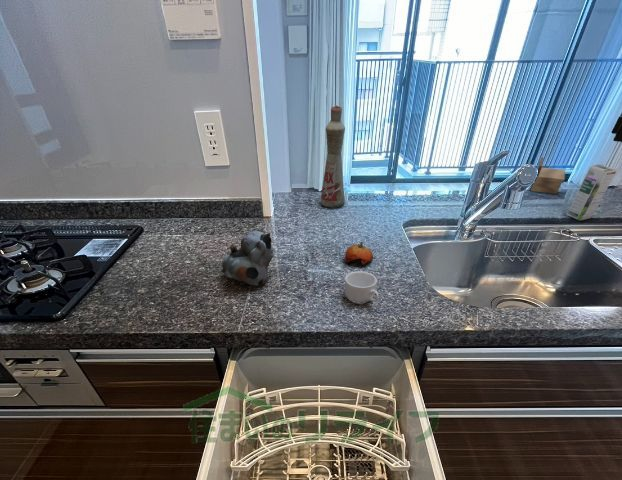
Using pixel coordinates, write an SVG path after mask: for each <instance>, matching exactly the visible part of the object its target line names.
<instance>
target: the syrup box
mask: <svg viewBox="0 0 622 480" xmlns="http://www.w3.org/2000/svg"><path fill="white" fill-rule="evenodd" d="M617 172H618V168H613V167H610V166H609V165H608V166H607V165H604V164H593V165H591V166H589V168H588V170H587V172H586V174H585V177H584V178H583V180H582V182H581V185H580V187H579V188H578V190H577V193H576V195H574V199H573V200H572V203H571V205H570V207H569V208H568V210H567V212H566V215H565V216H567V217H570V218H573V219H574V220H577V221H579V222H581V221H586V220H589V219H591V218H593V216H594V214H595V212H596V210H597V208H598V207H599V204H600V203H601V201H602V200H603V198H604V196H605V193H606V192H607V191H608V189H609V186H610V184H611V183H612V182H613V179H614V177H615V176H616V173H617Z"/></svg>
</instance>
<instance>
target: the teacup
mask: <svg viewBox="0 0 622 480" xmlns="http://www.w3.org/2000/svg"><path fill="white" fill-rule="evenodd" d="M377 284H378V278H377V277H376V276H375V275H374V274H372V273H370V272H368V271H362V270H361V271H360V270H357V271H352V272H351V271H350V272H349V273H347V274H346V275H345V277H344V294H345V296H346V298H347V299H348V301H350V302H351V303H353V304H356V305H363V304H366V303H369V302H376V301H378V300H379V297H380V295H379V292H378V291H377V290H376V289H377ZM374 295H376V297H375V298H374ZM353 301H354V302H353ZM366 301H367V302H366ZM357 302H364V303H357Z"/></svg>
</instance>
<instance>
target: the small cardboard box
mask: <svg viewBox="0 0 622 480" xmlns="http://www.w3.org/2000/svg"><path fill="white" fill-rule="evenodd" d="M544 160H545V157H540V159H539V162H538V164H537V167H536V169H538V176H537V179H536V181H535V183H532V186H531V189H530V191H531V192H537V193H544V194H550V195H551V194H552V195H557V194H558V192H559V190H560V187H561V185H562V184H564V182H565V179H566V170H565V169H559V168H550V167H543V164H544Z"/></svg>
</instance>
